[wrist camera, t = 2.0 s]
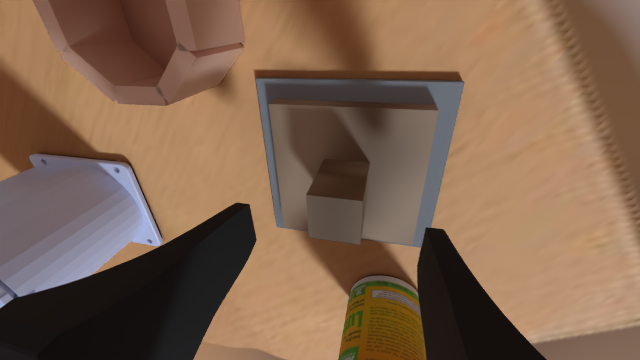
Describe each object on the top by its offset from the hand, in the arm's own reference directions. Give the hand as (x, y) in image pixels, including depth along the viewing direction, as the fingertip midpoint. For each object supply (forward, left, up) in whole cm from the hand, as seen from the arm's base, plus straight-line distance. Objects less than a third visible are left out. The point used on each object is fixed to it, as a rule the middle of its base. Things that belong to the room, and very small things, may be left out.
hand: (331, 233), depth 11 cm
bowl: (-9, +8, -6) cm, 13 cm away
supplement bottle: (+3, -11, -6) cm, 13 cm away
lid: (0, 0, -5) cm, 5 cm away
